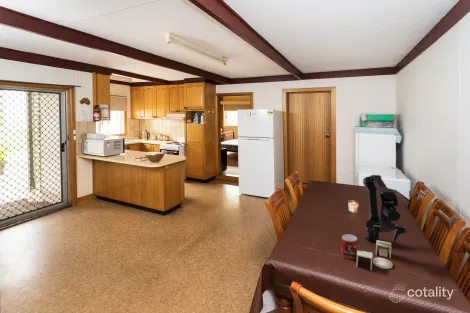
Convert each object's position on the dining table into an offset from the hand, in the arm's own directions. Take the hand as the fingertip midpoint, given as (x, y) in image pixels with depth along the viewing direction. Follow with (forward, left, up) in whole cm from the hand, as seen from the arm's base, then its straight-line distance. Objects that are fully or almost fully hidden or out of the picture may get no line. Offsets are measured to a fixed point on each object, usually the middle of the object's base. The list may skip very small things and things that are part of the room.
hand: (383, 240), depth 145 cm
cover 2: (0, 0, -8) cm, 8 cm away
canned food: (-3, -19, -8) cm, 21 cm away
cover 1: (+7, -17, -8) cm, 20 cm away
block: (0, 0, -8) cm, 8 cm away
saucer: (+8, -7, -8) cm, 13 cm away
